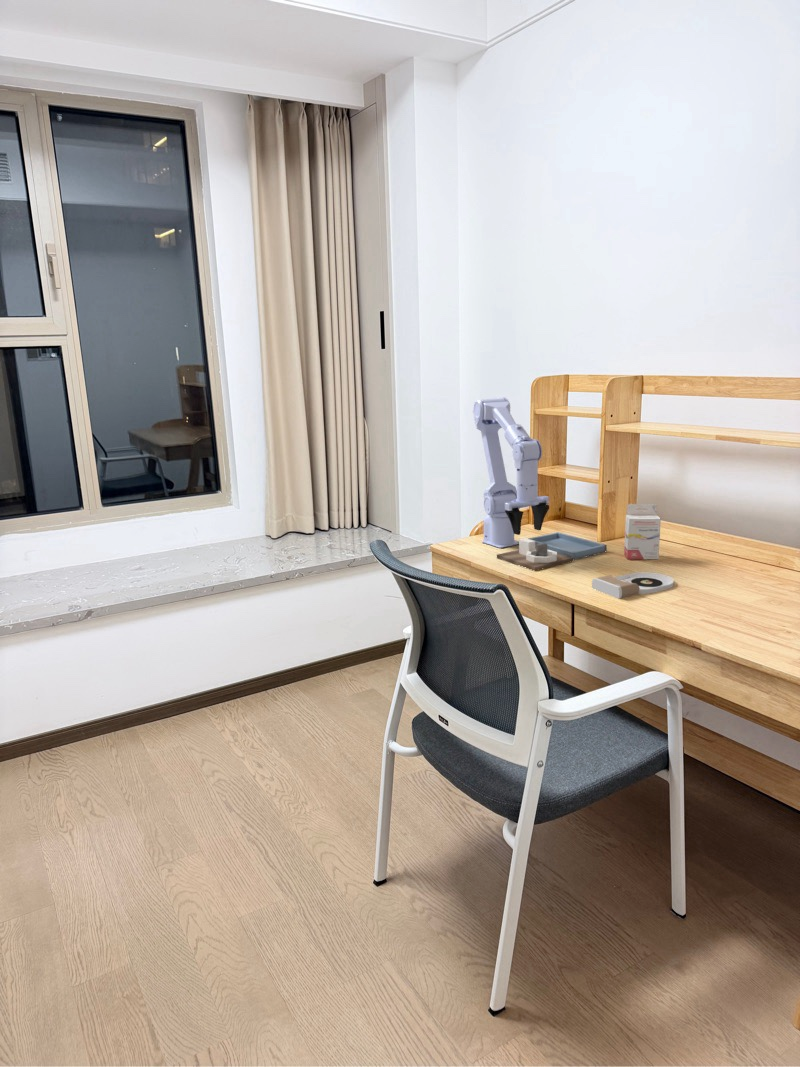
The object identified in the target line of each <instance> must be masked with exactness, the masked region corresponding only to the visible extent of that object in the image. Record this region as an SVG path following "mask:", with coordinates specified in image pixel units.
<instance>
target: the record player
mask: <svg viewBox="0 0 800 1067" xmlns="http://www.w3.org/2000/svg"><path fill="white" fill-rule="evenodd" d="M674 583H675V581H674V578H673V577H671V576H668V575H666V574H663V573H657V572H650V571H646V572H645V571H638V572H631V573H627V574H622V575H618V576H612V574H609V575H605V576H600V577H595V578H593V579H591V588H593V589H592V590H594V589H596V590H595V591H597V590H598V591H597V592H599V591H600V593H602V592H603V593H602V594H604V593H605V594H604V595H607V594H608V596H610V597H612V596H613V597H612V598H615V599H623V598H627V597H632V596H635V595H643V594H644V595H647V594H649V595H650V594H654V593H657V592H658V593H659V592H661V591H665V590H669V589H671V588H673V587H674Z"/></svg>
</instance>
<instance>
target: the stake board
mask: <svg viewBox="0 0 800 1067" xmlns="http://www.w3.org/2000/svg"><path fill="white" fill-rule="evenodd" d="M535 549H536V556H547V544H545V543H538V544H536V547H535ZM496 559H499V560H502V561H504V562H507V563H510V564H512V565H516V564H517V565H516V566H518V565H520V566H519V567H521V566H523V567H522V568H524V567H526V568H525V569H527V568H529V569H528V570H530V569H532V570H531V571H533V570H536V571H539V570H538V569H540V570H543V569H542V568H545V569H548V567H549V568H551V567H552V566H553V567H556V565H557V566H559V565H564V564H568V562H569V563H572V561H573V562H574V560H573V558H572V557H568V556H565V555H562V554H558V553H557V561H553V562H549V563H534V562H531V561H528V560H526V555H523V554H520V553H519V549H515V550H511V551H507V552H503V553H498V554H496Z"/></svg>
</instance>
